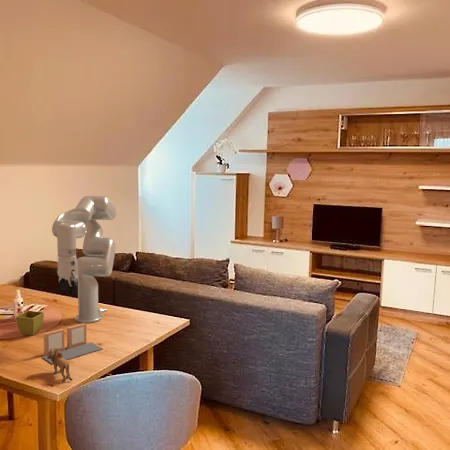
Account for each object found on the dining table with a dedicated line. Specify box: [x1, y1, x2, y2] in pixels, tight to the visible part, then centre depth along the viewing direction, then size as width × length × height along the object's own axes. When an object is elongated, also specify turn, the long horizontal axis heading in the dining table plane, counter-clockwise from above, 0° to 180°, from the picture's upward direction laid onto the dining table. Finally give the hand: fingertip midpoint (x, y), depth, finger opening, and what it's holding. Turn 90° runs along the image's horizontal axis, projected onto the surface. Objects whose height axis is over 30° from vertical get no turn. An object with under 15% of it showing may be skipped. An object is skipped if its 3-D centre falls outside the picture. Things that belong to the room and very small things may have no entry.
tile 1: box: [43, 328, 66, 356], centre depth 190 cm, size 8×2×9 cm, turn 136°
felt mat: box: [41, 342, 104, 366], centre depth 190 cm, size 22×9×1 cm, turn 136°
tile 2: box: [66, 323, 87, 349], centre depth 197 cm, size 8×2×9 cm, turn 136°
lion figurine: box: [46, 348, 73, 383], centre depth 170 cm, size 15×5×9 cm, turn 50°
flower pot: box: [15, 310, 45, 336], centre depth 210 cm, size 9×9×9 cm
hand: (67, 292), depth 199 cm, fingers open, 7 cm apart
